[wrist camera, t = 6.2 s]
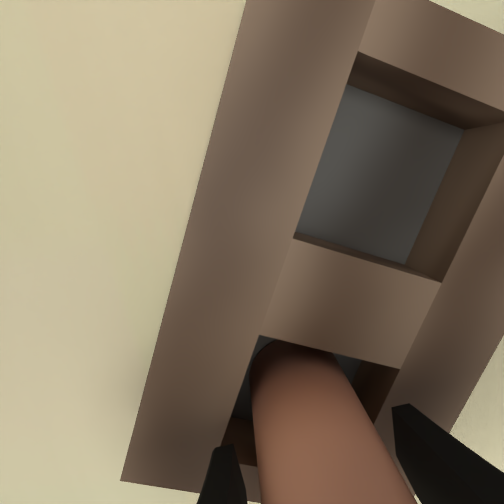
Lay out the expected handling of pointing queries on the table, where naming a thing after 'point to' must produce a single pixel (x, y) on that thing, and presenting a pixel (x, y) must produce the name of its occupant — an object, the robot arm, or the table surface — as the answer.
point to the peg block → (335, 226)
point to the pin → (316, 433)
